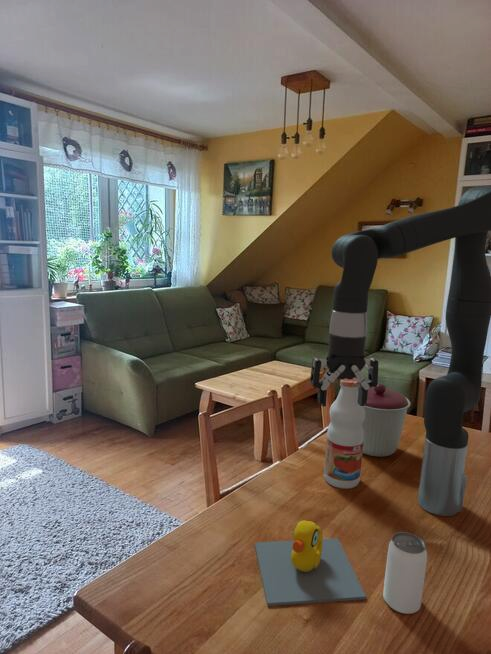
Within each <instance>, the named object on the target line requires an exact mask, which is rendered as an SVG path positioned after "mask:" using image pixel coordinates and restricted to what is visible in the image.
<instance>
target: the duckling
mask: <svg viewBox="0 0 491 654" xmlns="http://www.w3.org/2000/svg"><path fill="white" fill-rule="evenodd" d="M322 539H323V531H322V529H321V527H320V526H319V525H316V523H315V522H313V521H310V520H309V521H308V520H304V519H303V520H300V521H299V522H297V524H296V525H295V526H294V529H293V532H292V541H294V543H293V546H292V547H293V550H292V554H291V561H292V564H293V566H294V567H295V568H297V569H298V570H300V571H303V572H309V571H311V570H312V569H313V568H317V566H318V564H319V562H320V558H321V553H322Z"/></svg>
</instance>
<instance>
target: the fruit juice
mask: <svg viewBox="0 0 491 654" xmlns="http://www.w3.org/2000/svg"><path fill="white" fill-rule="evenodd" d="M339 386H340V389H339V391H338V394H337V397H336V399H335V400H334V401H333V403H332V404H331V406H330V407H329V419H330V423H329V424H328V427H327V431H326V432H327V434H326V446H325V456H324V457H325V460H324V470H323V471H324V472H323V476H324V480H325V481H326V483H328V484H329V485H331V486H332V487H335V488H338V489H346V490H347V489H353V488H356V487H357V486H358V485H359V483H360V481H361V473H362V472H361V471H362V460H363V453H362V452H363V442H364V429H363V422H364V420H365V409H364V407H363V406H360V405H359V404H358V388H359V387H360V384H359V383H358V381H357V380H356V378H353V379H342V380H340V381H339Z"/></svg>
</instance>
